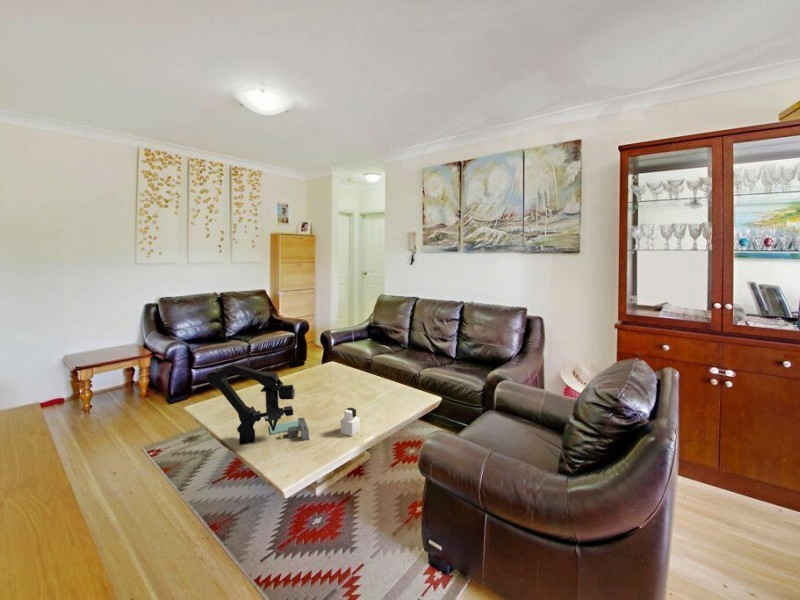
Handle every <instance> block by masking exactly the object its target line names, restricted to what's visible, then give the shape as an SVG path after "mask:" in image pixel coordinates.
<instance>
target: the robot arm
mask: <svg viewBox="0 0 800 600" xmlns="http://www.w3.org/2000/svg"><path fill="white" fill-rule="evenodd" d="M231 374H233V375H237V376H240V377H243V378H246V379H250V380H252V381H255V382H258V383H259V384H260V385H261V386H263V387H262V388H261V389H260V392H261V393H265V412H261V410H256V409H255V407H254V406H252V405H251V406H250V407H249V406H247V405H246V404H245V402H244V400H243V399H242V398H241V397H240V396H239V394H238V393H237V392H236V391H235V389H234V388H233V387H232V386H231V384H230V383H229V380H228V376H229V375H231ZM206 381H207V383H209V385H210V386H212V387H213V388H215V389H217V390H219V392H221V394H222V395H223V397H224V398H225V399H226V401H228V403H229V404H230V406H232V407H233V409H234V410H235V412H236V413H237V414H238V418H239V422H240V423H239V425H238V426H237V428H236V431H237V432H238V434H239V436H238V437H239V439H238V440H239V445H245V444H251V443H255V439H256V429H255V428H254V425H255V423H257V422H260V420H262V418H264V421H265V422H267V423H268V424H269V426H271V429H272V431H274V430H275V427H276V424H278V421H279V420H282V416H284V415H285V416H286V417H291V416H293V415H294V409H293V406H292V405H287V406H283V407H281V408H280V406H279V399H280V400H281V401H282V400H294V398H295V393H296V392H295V391H296V390H295V387H294V384H284V383H283V382H282V380H281V378H279V375H278V373H276V372H274V371H260V370H257V369H253V368H251V367H248V366H244V365H241V364H238V363H236V362H231V363H230V364H227V365H225V366H223V367H221V368H220V367H217V368H214V369H213V370H211V371H210V372H209V373H208V374H207V375H206Z"/></svg>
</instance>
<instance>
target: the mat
mask: <svg viewBox="0 0 800 600" xmlns="http://www.w3.org/2000/svg"><path fill="white" fill-rule="evenodd" d="M268 426H269V434H270V435H277V434H280V433H286V432H287V433H288V428H291V427H297V429H299V428H298V420H293V421H288V422H283V423H276V427H275V430H274V431H272V429H271V426H270V425H268Z"/></svg>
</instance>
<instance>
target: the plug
mask: <svg viewBox="0 0 800 600" xmlns="http://www.w3.org/2000/svg"><path fill="white" fill-rule="evenodd" d="M298 434H300V431H299V429H297V427H291V428H288V431H287V434H284V432H282V433H279V437H280V440H283V439H284V438H287V437H288V438H289V439H292V438H297V437H299V435H298Z"/></svg>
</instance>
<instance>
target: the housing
mask: <svg viewBox="0 0 800 600" xmlns="http://www.w3.org/2000/svg"><path fill="white" fill-rule="evenodd" d="M297 422H298V428H299V432H301V433H300V435H301V440H302V441H308V440H310V429H309V427H308V425H307V422H306V420H305V417H298V418H297Z"/></svg>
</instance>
